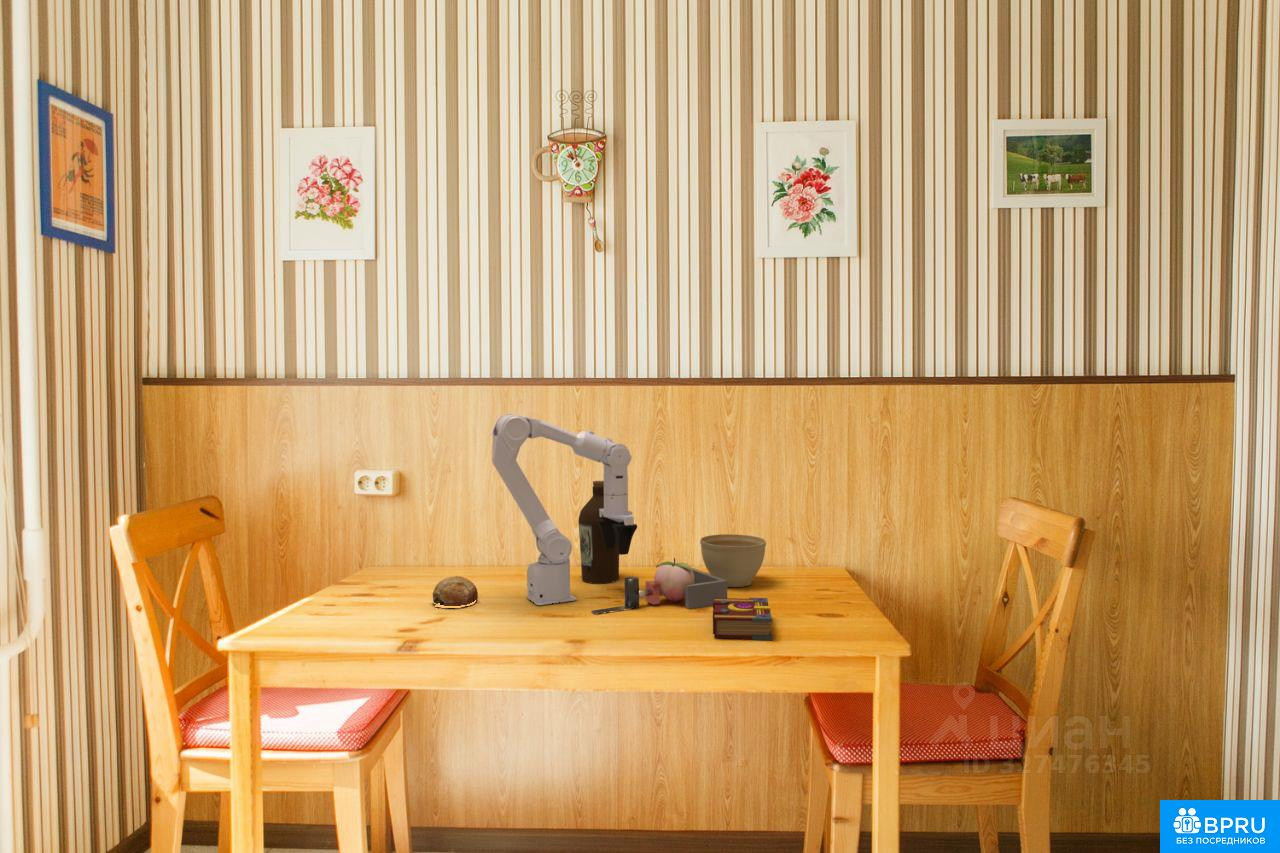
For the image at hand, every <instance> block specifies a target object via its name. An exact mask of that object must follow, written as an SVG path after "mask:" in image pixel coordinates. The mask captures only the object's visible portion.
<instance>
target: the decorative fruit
mask: <svg viewBox="0 0 1280 853" xmlns="http://www.w3.org/2000/svg"><path fill="white" fill-rule="evenodd" d="M655 568H657V570H656V571H655V573H654V576H653V578H654V579H653V581H654V582H656V583H658V584H660V593H661V594H662V595H661V596H663V597H665V598H666V599H668V600H669V601H670V602H674V603H676V602H679V601H680V600H683V599H685V585H691V584H694V573H693V570H692V568H693V567H692V566H691V565H690V564H688V563H686V562H676V558H675V557H673V562H672V561H663V562H659V563H658V564H657V565H656V566H655Z"/></svg>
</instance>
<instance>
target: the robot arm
mask: <svg viewBox="0 0 1280 853" xmlns="http://www.w3.org/2000/svg"><path fill="white" fill-rule="evenodd" d="M491 436H492V443H491V444H492V445H491V446H492V447H491V448H492V450H491V462H492V464H493V466H494V468H495V469H496V472H498V474H499V476H500V478H501V480H502V481H503V483H504V484H505V486H506V488H507V490H508V491H509V494H510V495H511V497H512V498H513V500H514V501H515V503H516V504H517V507H518V508H519V509H520V512H521V513H522V515H523V516H524V518H525V520H526V521H527V523H528V525H529V527H530V528H531V532H532V533H533V535H534V538H535V540H536V541H535V545H536V548H537V550H538V551H539V556H538V558H537V562H533V563H530V564H528V566H527V570H526V584H527V589H526V591H527V592H526V594H527V595H526V597H527V598H526V597H525V598H526V599H528V600H529V601H530V600H531V602H532V603H533V602H534V604H535V605H537V606H545V605H551V604H552V603H553V604H560V603H567V602H571V601H577V597H576V596H574V595H573V594H571V573H570V572H571V570H570V569H571V568H570V567H571V566H570V565H571V563H570V562H571V561H570V558H571V557H570V555H571V554H572V549H573V548H572V547H573V546H572V542H571V540H570V539H569V538H568V537H567V536H565V535H563V533H561V531H559V530H560V529H558V527H557V526H556V524H555V523H554V522H553V520H552V519H551V517H550V516H549V514H548V513H547V510H546V509H545V508H544V505H543V504H542V502H541V501H540V499H539V497H538V495H537V494H536V492H535V491H534V488H533V487H532V485H531V483H530V482H529V480H528V479H527V477H526V476H525V474H524V471H523V470H522V468H521V466H520V465H519V463H518V461H517V457H518V455H519V452H520V449H521V448H522V446H523V444H524V443H525V442H526V441H527V439H536V438H544V439H548V440H550V441H554V442H556V443H559V444H563V445H566V446H568V447H571V449H572V451H573V453H574V454H575V455H576V456H580V457H583V458H585V459H588V460H591V461H594V462H597V463H601V464H602V465H603V481H604V509H600V517H602V518H601V519H598V520H596V523H597V525H598V527H599V529H600V531H601V534H602V538H603V542H604V546H605V549H611V548H614V546H615V537H616V538H617V545H618V552H619V556H621V555H629V552H630V548H631V542H632V540H633V537H634V534H635V532H636V530H637V529H638V524H636V523H635V520H634V519H635V516H633V511H631V510H629V477H628V476H629V473H628V466H629V465H630V463H631V461H632V458H633V456H632V455H631V453H630V450H629V448H628V447H627V446H626V445H624V444H622V443H617V442H614V441H613V438H611V437H607V438H604V437H602V436H599V435H596V434H595V431H593V430H589V429H588V430H587V431H585V430H582V431H580V432H578V433H574V432H571V431H569V430H566V429H564V428H561V427H559V426H557V425H555V424H551V423H549V422H547V421H544V420H542V419H537V418H531V417H526V416H524V415H523V416H522V415H520V414H513V413H506V414H503V415H501V416H500V417H499V418H497V420H496V422H495V424H494V427H493V429H492V432H491ZM619 522H620V524H618V523H619ZM559 602H560V603H559Z"/></svg>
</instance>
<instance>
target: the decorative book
mask: <svg viewBox="0 0 1280 853" xmlns="http://www.w3.org/2000/svg"><path fill="white" fill-rule="evenodd" d="M771 623H773V617H772V612H771V606H770V605H769V600H768V597H748V598H736V597H734V598H733V597H732V598H731V597H727V598H715V601H713V605H712V635H713V636H714V639H748V640H750V639H752V640H753V641H755V640H757V641H762V640H763V641H773V634H772V631H771Z"/></svg>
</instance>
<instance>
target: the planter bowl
mask: <svg viewBox="0 0 1280 853" xmlns="http://www.w3.org/2000/svg"><path fill="white" fill-rule="evenodd" d="M699 544H700V548H701V550H700V551H701V557H702V560H703V563H704V566H705V567H706V569H707V573H708V574H710V575H713V576H716V577H718V578H721V579H724V580H726V581H727V588H743V587H748V586H752V583H753V579H754V578H755V577H756V575H757V574H758V572H759V570H760V569H761V567H762V564H763V562H764V559H765V554H766V553H765V552H766V546H767V540H766V539H764V538H762V537H759V536H756V535H755V536H754V535H747V534H737V533H736V534H735V533H734V534H731V533H724V534H723V533H721V534H719V533H718V534H712V535H711V534H709V535H705V536H702V537H701V538H700V539H699Z"/></svg>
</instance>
